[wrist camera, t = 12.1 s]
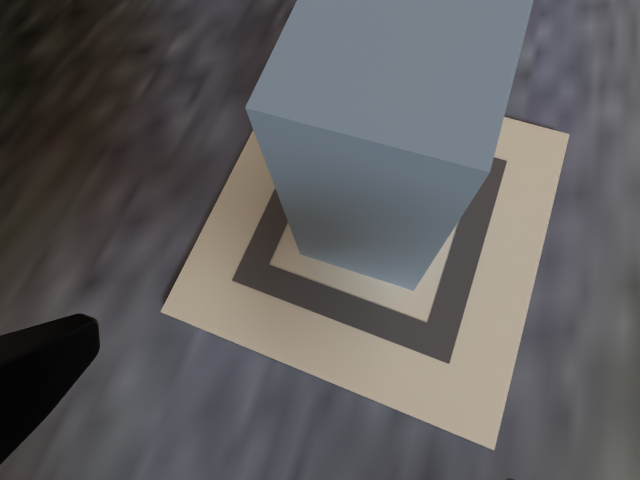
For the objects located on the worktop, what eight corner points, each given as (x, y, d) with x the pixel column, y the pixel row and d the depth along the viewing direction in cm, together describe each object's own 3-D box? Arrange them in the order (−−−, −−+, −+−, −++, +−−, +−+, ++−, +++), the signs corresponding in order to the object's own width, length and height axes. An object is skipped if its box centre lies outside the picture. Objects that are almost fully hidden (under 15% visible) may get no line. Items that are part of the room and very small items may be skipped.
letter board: (166, 314, 18) (159, 311, 18) (290, 67, 22) (288, 58, 22) (489, 447, 16) (494, 450, 15) (563, 141, 20) (570, 133, 19)
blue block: (413, 290, 17) (490, 172, 8) (300, 254, 18) (245, 107, 9) (443, 186, 19) (538, -21, 9) (337, 157, 19) (325, -58, 10)
